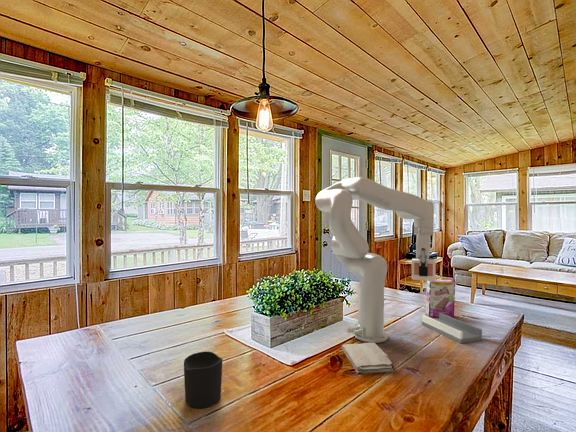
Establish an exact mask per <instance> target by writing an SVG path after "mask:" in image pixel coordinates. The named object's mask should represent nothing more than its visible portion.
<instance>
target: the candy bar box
mask: <svg viewBox="0 0 576 432" xmlns="http://www.w3.org/2000/svg"><path fill="white" fill-rule="evenodd" d="M425 292H426V293H425V296H426V297H425V315H426V316H427V317H429V318H439V313H442V314H444V315H447V316H449V317H452V318H454V319H455V298H456V282H455V281H453V280H451V279H435V281H426V291H425Z"/></svg>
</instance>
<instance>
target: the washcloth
mask: <svg viewBox="0 0 576 432" xmlns="http://www.w3.org/2000/svg"><path fill="white" fill-rule="evenodd" d="M341 350H342V351H343V353H344V354H345V356H346V358H347V359H348V360H349V362H350V363H351V365H352V366H353V368H354V370H355V372H356V373H357V374H360V373H361V374H376V373H379V374H380V373H381V374H382V373H393V372H394V369H393V367H392V365H393V362H392V361H391V360H390V357H389V355H388V354H387V353H386V352H384V350H383V349H382V348H381V347H380V346H378V345H377V343H370V342H363V343H358V344H357V343H347V344H342V345H341Z"/></svg>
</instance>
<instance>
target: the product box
mask: <svg viewBox="0 0 576 432" xmlns="http://www.w3.org/2000/svg"><path fill="white" fill-rule="evenodd" d="M436 262H437V261H436V259H430V258H429V259H427V267H428V276H427V277H426V276H419V266H420V258H418V259H417V258H412V259H411V280H415V281H416V280H417V281H426V282H427V281H435V280H436V271H437V270H436V268H437V266H436ZM425 264H426V263H425Z"/></svg>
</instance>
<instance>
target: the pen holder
mask: <svg viewBox="0 0 576 432" xmlns="http://www.w3.org/2000/svg"><path fill="white" fill-rule="evenodd" d="M183 374H184V375H183V376H184V378H183V381H184V396H185V397H184V399H185V400H184V401H185V403H186V404H187V406H189V407H191V408H193V409H205V408H209V407H211V406H214V405H215V404H216V403H218V401H219V400H220V398H221V395H222V381H223V380H222V379H223V378H222V377H223V358H222V357H219V356H218V354H216V353H215V352H212V351H207V350H206V351H198V352H195V353H192V354H190V355H188V356H187V357H186V358H184V361H183Z"/></svg>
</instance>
